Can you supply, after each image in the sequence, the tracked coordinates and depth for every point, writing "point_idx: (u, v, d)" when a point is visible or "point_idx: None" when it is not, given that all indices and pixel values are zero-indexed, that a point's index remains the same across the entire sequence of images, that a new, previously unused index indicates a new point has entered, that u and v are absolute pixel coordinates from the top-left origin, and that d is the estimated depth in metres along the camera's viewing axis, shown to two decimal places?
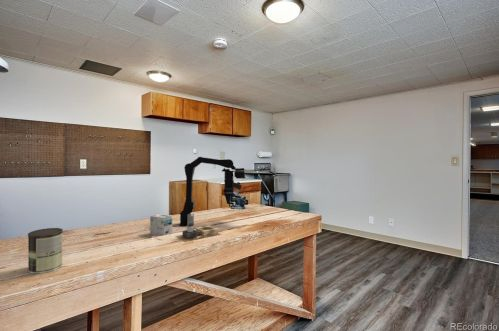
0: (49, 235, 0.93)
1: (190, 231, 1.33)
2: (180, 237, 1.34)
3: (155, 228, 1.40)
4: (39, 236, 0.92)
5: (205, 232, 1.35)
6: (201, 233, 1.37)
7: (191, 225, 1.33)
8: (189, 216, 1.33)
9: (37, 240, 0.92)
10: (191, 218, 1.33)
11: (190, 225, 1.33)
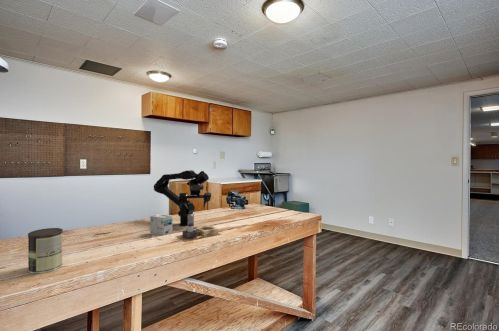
0: (49, 235, 0.93)
1: (190, 231, 1.33)
2: (180, 237, 1.34)
3: (155, 228, 1.40)
4: (39, 236, 0.92)
5: (205, 232, 1.35)
6: (201, 233, 1.37)
7: (191, 225, 1.33)
8: (189, 216, 1.33)
9: (37, 240, 0.92)
10: (191, 218, 1.33)
11: (190, 225, 1.33)
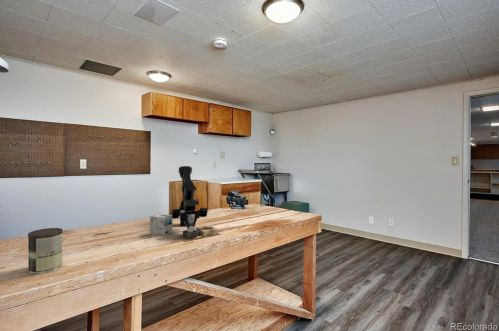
0: (49, 235, 0.93)
1: (190, 231, 1.33)
2: (180, 237, 1.34)
3: (155, 228, 1.40)
4: (39, 236, 0.92)
5: (205, 232, 1.35)
6: (201, 233, 1.37)
7: (191, 225, 1.33)
8: (189, 216, 1.33)
9: (37, 240, 0.92)
10: (191, 218, 1.33)
11: (190, 225, 1.33)
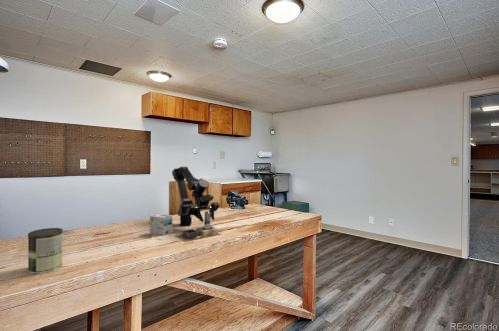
0: (49, 235, 0.93)
1: (207, 228, 1.40)
2: (180, 237, 1.34)
3: (155, 228, 1.40)
4: (39, 236, 0.92)
5: (205, 232, 1.35)
6: (201, 233, 1.37)
7: (209, 222, 1.40)
8: (207, 214, 1.39)
9: (37, 241, 0.92)
10: (209, 216, 1.40)
11: (208, 222, 1.40)
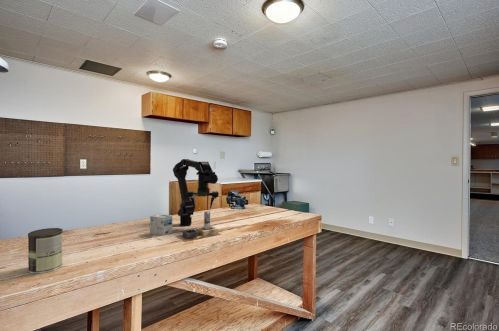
0: (49, 235, 0.93)
1: (207, 227, 1.40)
2: (180, 237, 1.34)
3: (155, 228, 1.40)
4: (39, 236, 0.92)
5: (205, 232, 1.35)
6: (201, 233, 1.37)
7: (208, 222, 1.40)
8: (207, 214, 1.39)
9: (37, 240, 0.92)
10: (208, 215, 1.40)
11: (208, 222, 1.40)
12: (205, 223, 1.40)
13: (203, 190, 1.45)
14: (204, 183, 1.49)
